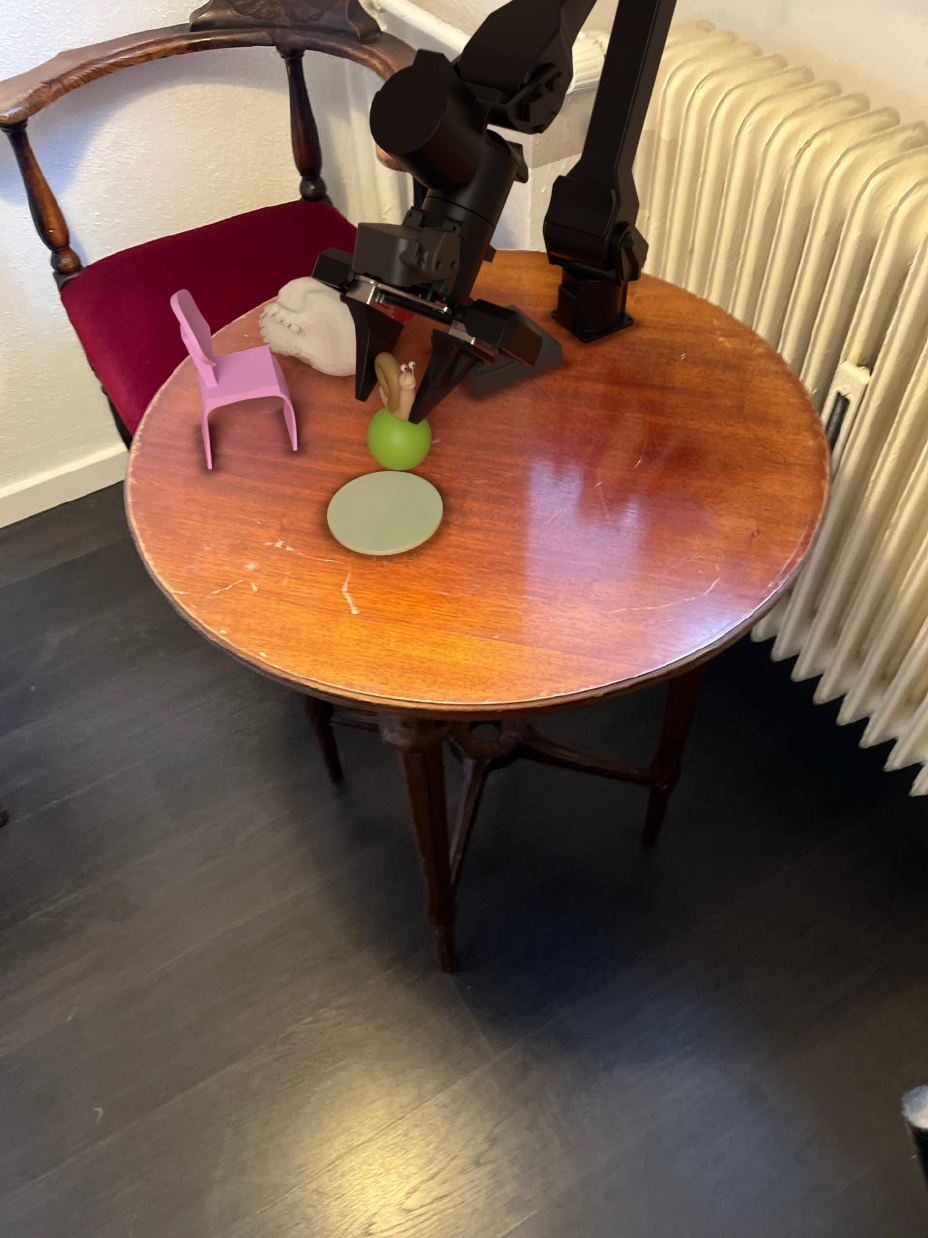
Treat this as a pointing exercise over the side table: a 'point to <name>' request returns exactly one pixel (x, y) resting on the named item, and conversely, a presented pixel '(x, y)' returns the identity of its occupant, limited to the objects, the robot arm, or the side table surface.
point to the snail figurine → (397, 418)
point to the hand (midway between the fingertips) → (385, 411)
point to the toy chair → (229, 370)
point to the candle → (314, 326)
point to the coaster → (385, 513)
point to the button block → (512, 365)
